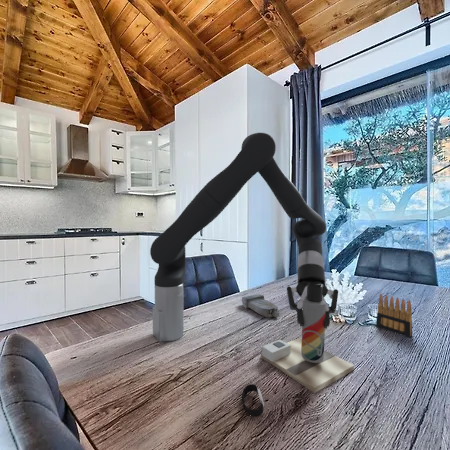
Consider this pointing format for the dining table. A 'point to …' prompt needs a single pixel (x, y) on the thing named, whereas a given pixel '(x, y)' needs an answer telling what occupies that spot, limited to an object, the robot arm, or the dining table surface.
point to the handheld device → (260, 305)
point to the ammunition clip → (394, 316)
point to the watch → (254, 388)
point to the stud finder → (276, 350)
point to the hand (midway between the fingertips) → (313, 325)
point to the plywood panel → (311, 368)
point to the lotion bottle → (313, 324)
